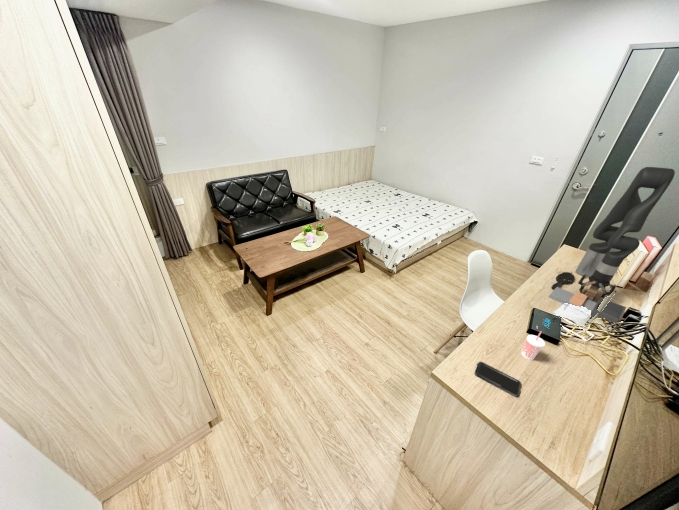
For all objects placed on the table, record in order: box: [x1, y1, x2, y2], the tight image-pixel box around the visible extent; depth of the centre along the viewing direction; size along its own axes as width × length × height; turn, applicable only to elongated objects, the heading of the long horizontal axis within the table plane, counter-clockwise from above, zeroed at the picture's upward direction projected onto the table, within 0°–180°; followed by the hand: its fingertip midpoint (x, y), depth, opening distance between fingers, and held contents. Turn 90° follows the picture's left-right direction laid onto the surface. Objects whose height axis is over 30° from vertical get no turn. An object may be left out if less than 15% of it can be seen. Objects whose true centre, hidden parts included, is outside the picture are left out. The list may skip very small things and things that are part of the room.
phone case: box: [557, 315, 596, 343], centre depth 124 cm, size 7×1×15 cm
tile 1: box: [574, 291, 588, 300], centre depth 141 cm, size 5×5×2 cm
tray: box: [591, 296, 627, 323], centre depth 131 cm, size 16×10×5 cm, turn 128°
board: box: [548, 286, 597, 312], centre depth 141 cm, size 12×18×2 cm, turn 38°
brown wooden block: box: [584, 285, 600, 301], centre depth 144 cm, size 14×4×6 cm, turn 129°
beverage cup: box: [521, 330, 546, 361], centre depth 106 cm, size 6×6×14 cm
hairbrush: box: [551, 271, 576, 291], centre depth 157 cm, size 8×4×25 cm
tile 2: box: [569, 296, 585, 307], centre depth 137 cm, size 5×5×2 cm
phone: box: [474, 361, 522, 398], centre depth 99 cm, size 8×1×15 cm
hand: (590, 295), depth 145 cm, fingers open, 8 cm apart
